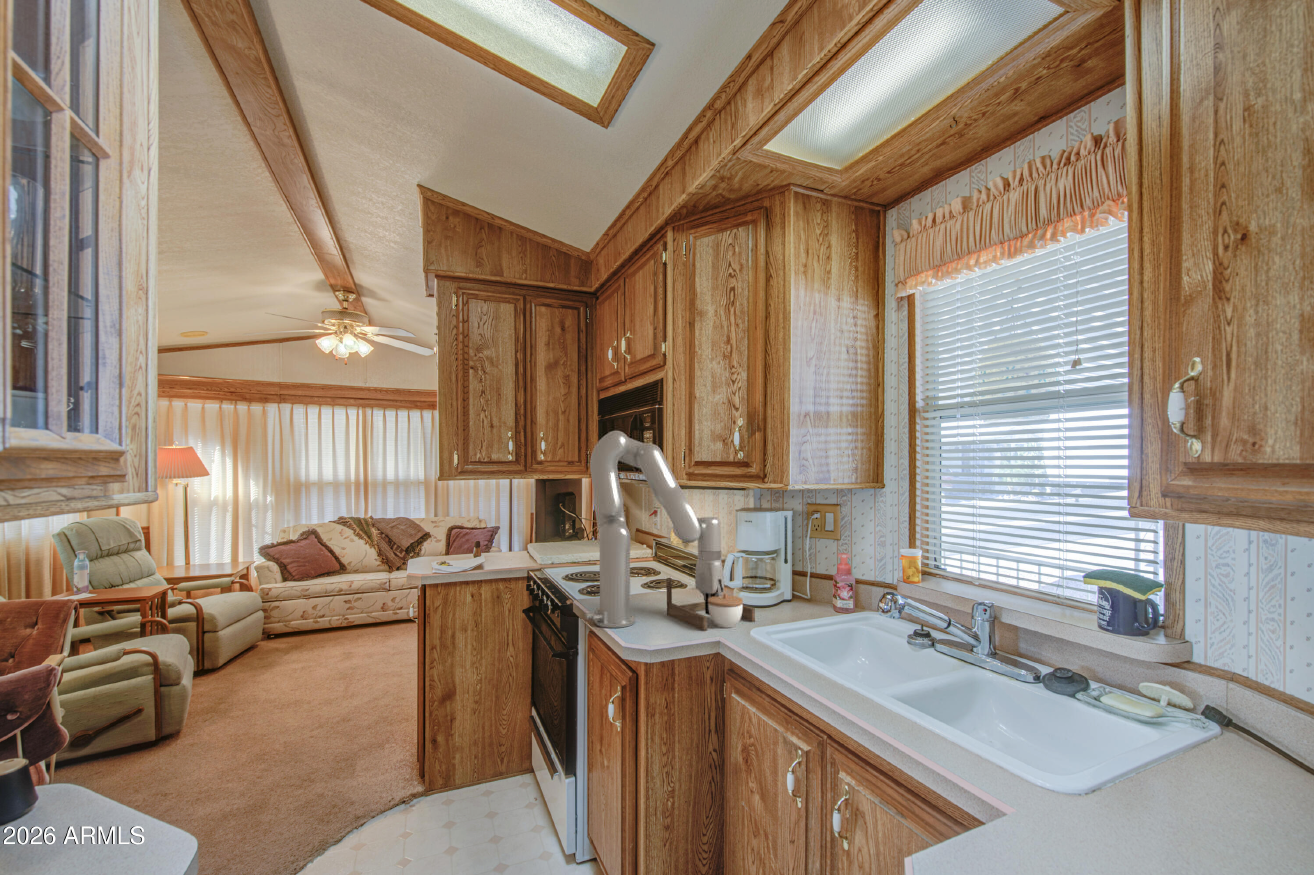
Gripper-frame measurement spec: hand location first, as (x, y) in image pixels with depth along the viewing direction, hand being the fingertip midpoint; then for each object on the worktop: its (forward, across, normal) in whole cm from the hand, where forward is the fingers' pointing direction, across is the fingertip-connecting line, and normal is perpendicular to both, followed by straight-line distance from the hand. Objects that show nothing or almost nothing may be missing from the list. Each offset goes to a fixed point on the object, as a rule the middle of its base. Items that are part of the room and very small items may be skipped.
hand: (710, 613), depth 178 cm
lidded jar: (+2, +9, -1) cm, 9 cm away
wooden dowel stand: (+1, 0, 0) cm, 1 cm away
